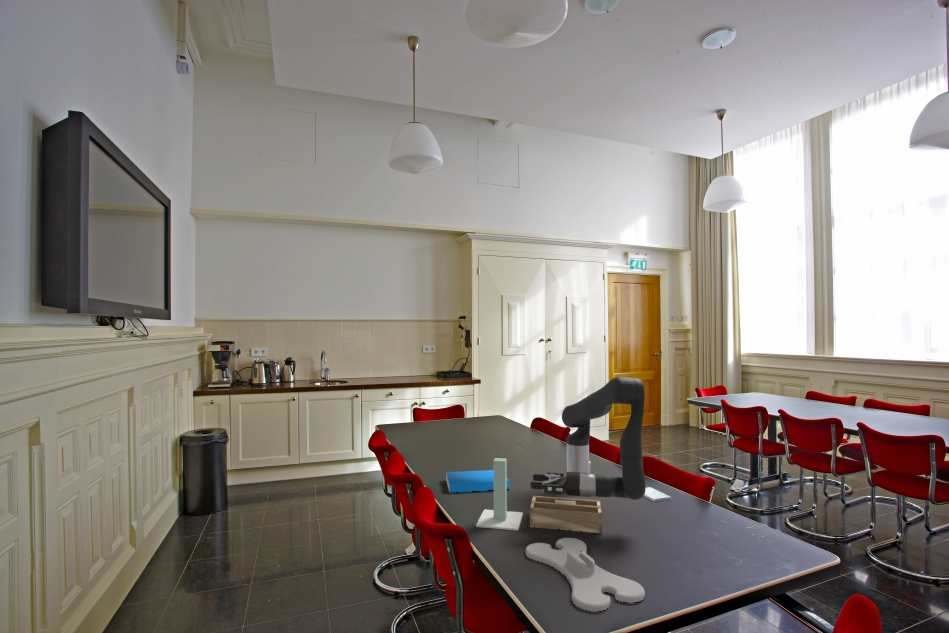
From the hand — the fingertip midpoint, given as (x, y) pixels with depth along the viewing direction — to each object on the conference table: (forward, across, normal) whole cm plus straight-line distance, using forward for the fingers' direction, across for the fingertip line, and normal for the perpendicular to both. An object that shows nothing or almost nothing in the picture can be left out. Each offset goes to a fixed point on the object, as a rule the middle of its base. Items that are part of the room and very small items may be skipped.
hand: (531, 481), depth 157 cm
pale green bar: (+11, 0, +13) cm, 17 cm away
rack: (-11, -3, +14) cm, 18 cm away
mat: (+11, 0, +14) cm, 18 cm away
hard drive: (-44, -37, +15) cm, 59 cm away
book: (+26, -34, +15) cm, 46 cm away
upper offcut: (-11, -6, +11) cm, 17 cm away
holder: (-16, +30, +15) cm, 36 cm away
